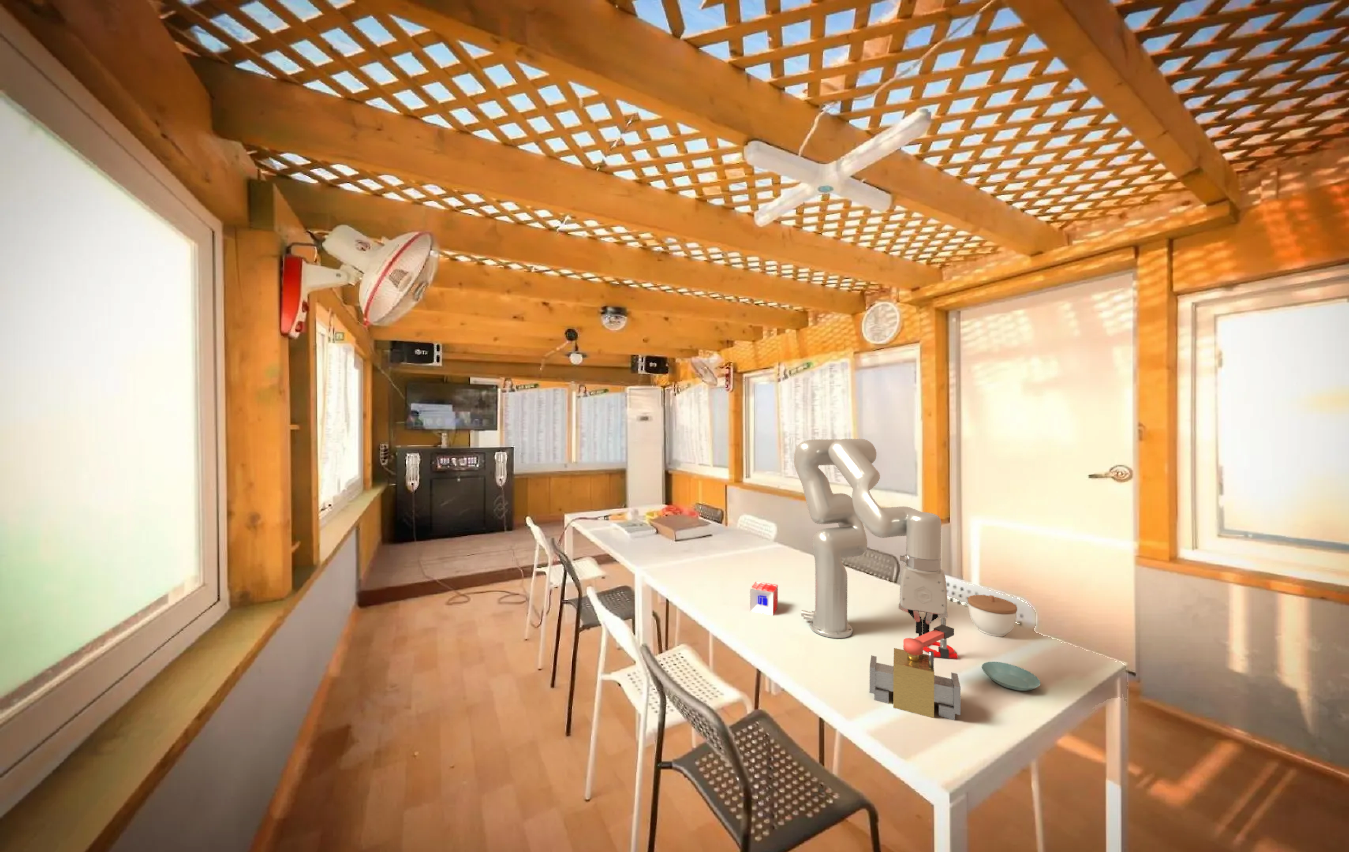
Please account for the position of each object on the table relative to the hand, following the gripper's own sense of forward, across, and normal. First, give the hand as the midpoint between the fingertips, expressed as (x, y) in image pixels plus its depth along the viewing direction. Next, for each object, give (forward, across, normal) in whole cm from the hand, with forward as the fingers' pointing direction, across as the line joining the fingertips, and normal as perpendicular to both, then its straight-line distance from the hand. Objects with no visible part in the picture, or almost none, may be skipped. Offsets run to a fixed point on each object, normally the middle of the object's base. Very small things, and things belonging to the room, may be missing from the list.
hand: (922, 636), depth 112 cm
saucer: (+12, +20, +11) cm, 26 cm away
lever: (0, +1, -4) cm, 4 cm away
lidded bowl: (+12, +20, +43) cm, 49 cm away
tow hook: (+12, +4, +21) cm, 25 cm away
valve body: (+12, -2, -10) cm, 15 cm away
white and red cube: (+12, -48, +26) cm, 56 cm away
